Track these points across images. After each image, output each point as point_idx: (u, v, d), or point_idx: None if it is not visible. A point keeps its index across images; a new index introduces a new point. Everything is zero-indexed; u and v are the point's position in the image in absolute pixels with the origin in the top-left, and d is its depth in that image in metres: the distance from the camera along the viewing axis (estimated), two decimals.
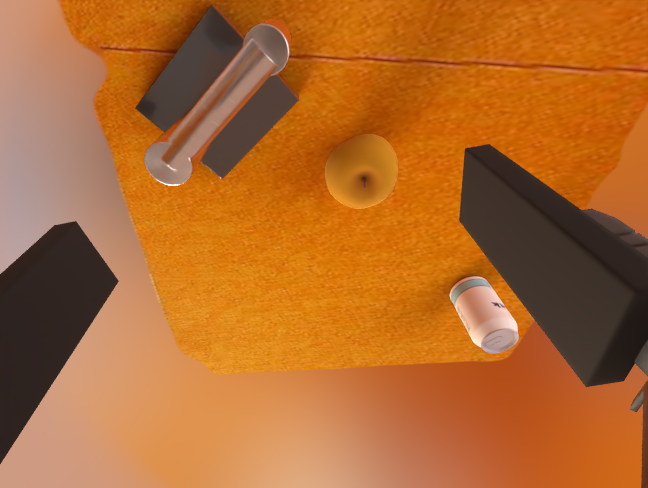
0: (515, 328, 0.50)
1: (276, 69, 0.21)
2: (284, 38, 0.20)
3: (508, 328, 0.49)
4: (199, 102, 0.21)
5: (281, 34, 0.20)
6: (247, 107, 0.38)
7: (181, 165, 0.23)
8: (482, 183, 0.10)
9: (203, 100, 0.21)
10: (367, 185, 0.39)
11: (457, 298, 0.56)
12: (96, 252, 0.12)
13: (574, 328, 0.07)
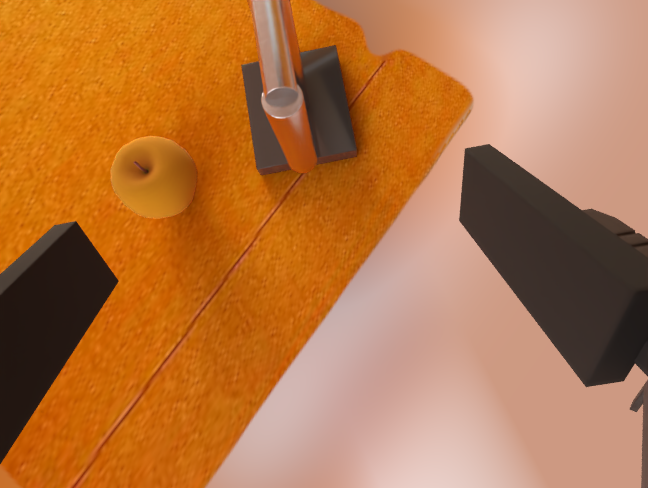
0: None
1: (264, 96, 0.22)
2: (280, 117, 0.22)
3: None
4: (283, 20, 0.22)
5: (284, 116, 0.22)
6: None
7: None
8: (482, 183, 0.10)
9: (281, 23, 0.22)
10: (136, 170, 0.35)
11: None
12: (96, 252, 0.12)
13: (574, 328, 0.07)
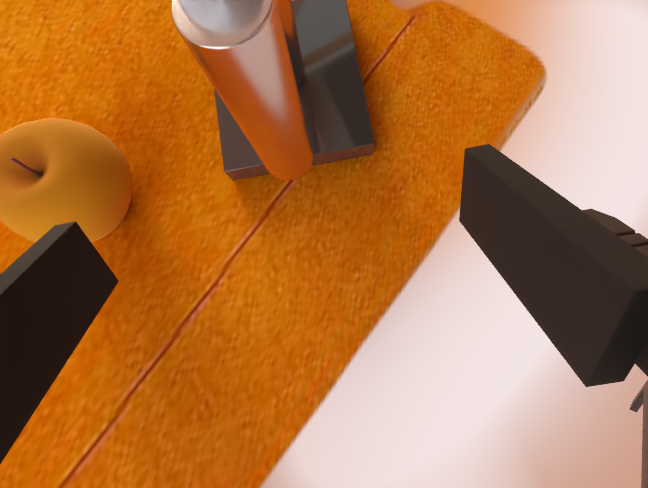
0: None
1: None
2: (215, 46, 0.09)
3: None
4: None
5: (225, 44, 0.09)
6: None
7: None
8: (482, 183, 0.10)
9: None
10: (23, 171, 0.22)
11: None
12: (96, 252, 0.12)
13: (574, 328, 0.07)
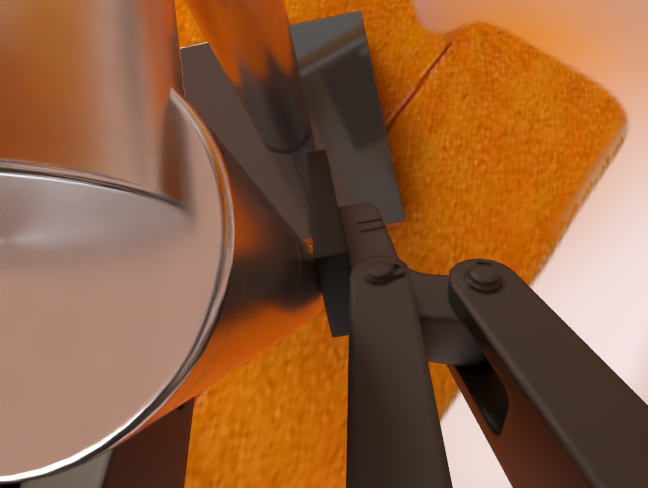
0: None
1: None
2: None
3: None
4: None
5: (5, 472, 0.02)
6: (249, 169, 0.20)
7: None
8: None
9: None
10: None
11: None
12: None
13: None
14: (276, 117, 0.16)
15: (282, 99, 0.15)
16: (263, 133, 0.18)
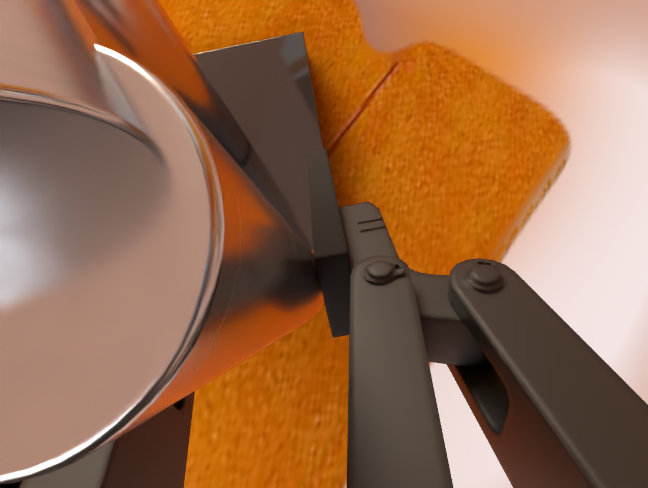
0: None
1: None
2: (37, 466, 0.02)
3: None
4: None
5: (79, 442, 0.02)
6: None
7: None
8: None
9: None
10: None
11: None
12: None
13: None
14: None
15: (210, 120, 0.15)
16: None
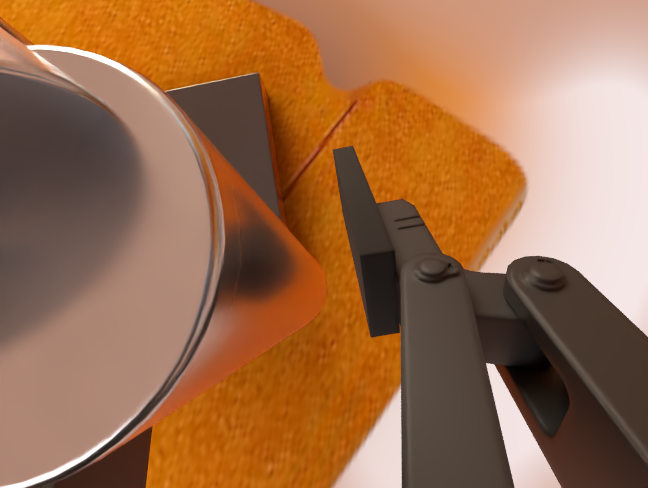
0: None
1: None
2: (116, 431, 0.02)
3: None
4: None
5: (149, 392, 0.02)
6: None
7: None
8: (338, 179, 0.12)
9: None
10: None
11: None
12: None
13: (362, 291, 0.09)
14: None
15: None
16: None
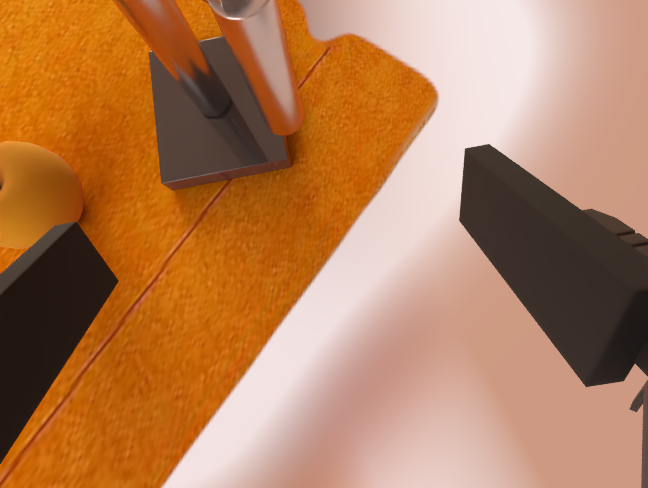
0: None
1: (216, 3, 0.14)
2: (259, 9, 0.14)
3: None
4: None
5: (263, 4, 0.14)
6: (191, 129, 0.32)
7: None
8: (482, 183, 0.10)
9: None
10: None
11: None
12: (96, 252, 0.12)
13: (574, 328, 0.07)
14: (212, 84, 0.28)
15: (209, 69, 0.27)
16: (209, 105, 0.30)
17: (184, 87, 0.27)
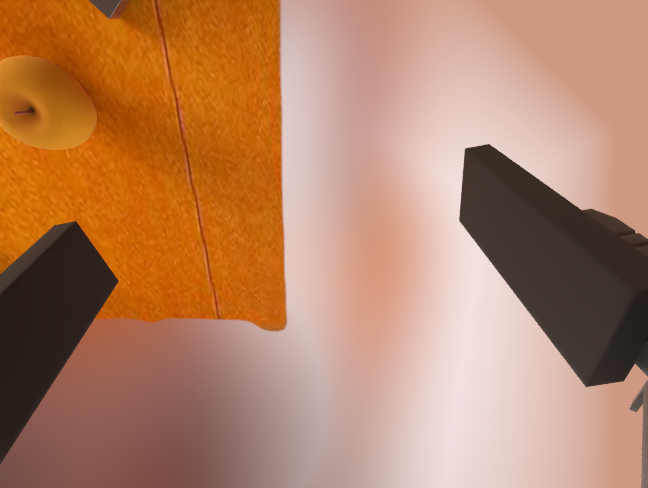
0: None
1: None
2: None
3: None
4: None
5: None
6: None
7: None
8: (482, 183, 0.10)
9: None
10: (23, 115, 0.32)
11: None
12: (96, 252, 0.12)
13: (574, 328, 0.07)
14: None
15: None
16: None
17: None
